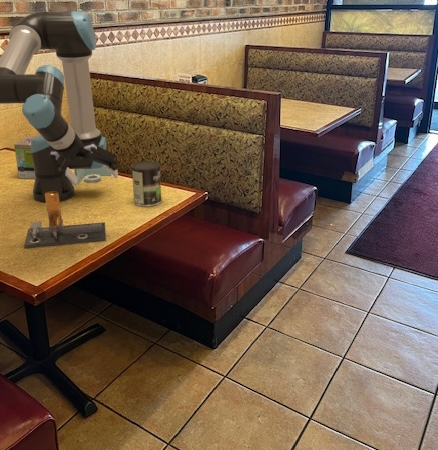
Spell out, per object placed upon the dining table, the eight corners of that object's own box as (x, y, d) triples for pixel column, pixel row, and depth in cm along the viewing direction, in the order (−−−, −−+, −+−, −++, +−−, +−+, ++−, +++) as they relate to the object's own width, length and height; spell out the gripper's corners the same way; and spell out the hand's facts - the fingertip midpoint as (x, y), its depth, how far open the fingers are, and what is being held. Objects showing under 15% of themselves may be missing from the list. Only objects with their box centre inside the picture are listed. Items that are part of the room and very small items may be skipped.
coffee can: (165, 197, 188) (163, 161, 182) (156, 207, 179) (154, 170, 173) (139, 195, 190) (137, 160, 184) (129, 205, 181) (126, 168, 175)
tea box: (42, 179, 207) (37, 144, 201) (18, 179, 207) (12, 144, 201) (54, 168, 220) (49, 135, 214) (31, 168, 220) (26, 135, 214)
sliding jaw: (50, 227, 160) (45, 191, 155) (63, 226, 161) (58, 190, 156) (48, 239, 152) (43, 201, 147) (62, 238, 153) (57, 200, 148)
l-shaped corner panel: (76, 186, 201) (74, 168, 198) (83, 176, 212) (81, 159, 209) (106, 186, 201) (104, 168, 198) (111, 176, 212) (110, 159, 209)
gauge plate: (28, 231, 160) (27, 221, 159) (105, 225, 165) (104, 214, 164) (24, 248, 150) (22, 237, 148) (106, 240, 155) (105, 229, 153)
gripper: (21, 158, 139) (58, 194, 158) (104, 142, 135) (133, 182, 154) (24, 136, 142) (60, 174, 161) (106, 120, 138) (133, 161, 157)
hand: (96, 178), depth 157 cm, fingers open, 13 cm apart
